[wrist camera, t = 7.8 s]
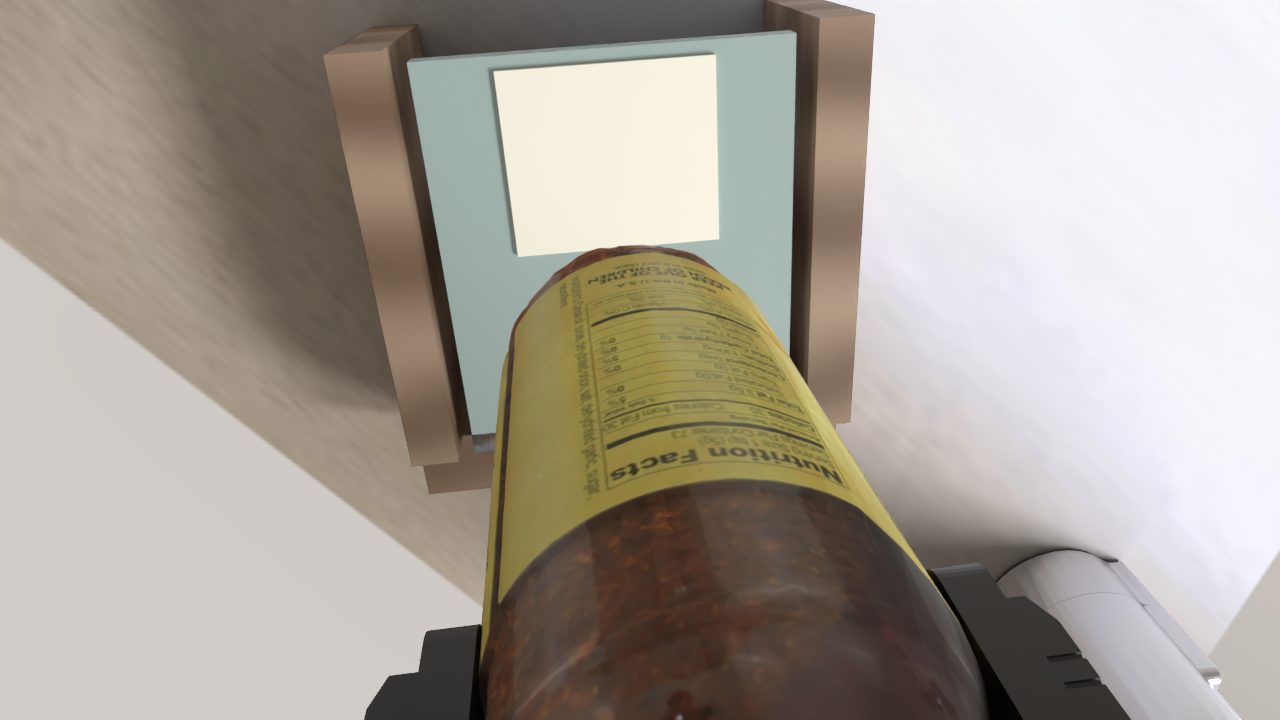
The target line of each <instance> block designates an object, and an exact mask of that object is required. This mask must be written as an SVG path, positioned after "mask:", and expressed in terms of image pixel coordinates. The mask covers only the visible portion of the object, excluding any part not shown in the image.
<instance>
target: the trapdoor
mask: <svg viewBox="0 0 1280 720" xmlns="http://www.w3.org/2000/svg"><path fill="white" fill-rule="evenodd" d="M796 35H797V33H795V32H793V31H791V30H785V31H771V32H758V33H745V34H732V35H718V36H705V37H692V38H678V39H665V40H652V41H639V42H625V43H612V44H599V45H585V46H572V47H559V48H546V49H532V50H519V51H506V52H492V53H479V54H466V55H453V56H439V57H426V58H413V59H410V60H409V61H408V62H407V67H408V73H409V79H410V84H411V90H412V96H413V101H414V107H415V113H416V118H417V124H418V130H419V136H420V141H421V147H422V153H423V158H424V164H425V170H426V175H427V181H428V187H429V192H430V198H431V204H432V210H433V215H434V221H435V227H436V232H437V238H438V244H439V249H440V255H441V261H442V266H443V272H444V278H445V284H446V289H447V295H448V301H449V306H450V312H451V318H452V323H453V329H454V335H455V340H456V346H457V352H458V358H459V363H460V369H461V375H462V380H463V386H464V392H465V397H466V403H467V409H468V415H469V420H470V426H471V432H472V440H473V447H474V452H475V454H482V453H492V452H495V437H496V425H497V414H498V404H499V393H500V384H501V375H502V368H503V364H504V360H505V356H506V353H507V352H508V350H509V342H510V337H511V332H512V329H513V326H514V323H515V322H516V320H517V318H518V317H519V315H520V314H521V312H522V311H523V310H524V309H525V308H526V307H527V305H528V303H529V302H530V300H531V299H532V298H533V296H534V295H535V294H536V293H537V292H538V291H539V290H540V289H541V287H542V286H543V285H544V284H545V283H546V282H547V281H548V280H549V279H550V278H551V276H552V275H553V274H554V273H555V272H557V271H558V270H560V269H561V268H563V267H565V266H566V265H567V264H569V263H570V262H571V261H573V260H574V259H575V258H577V257H578V256H580V255H581V254H584V253H586V252H588V251H591V250H594V249H597V248H614V247H618V246H628V245H648V246H653V247H656V246H662V247H664V248H672V249H675V250H682V251H687V252H690V253H693V254H695V255H697V256H699V257H701V258H702V259H704V260H705V261H706V262H707V263H709V264H710V265H711V266H712V267H714V268H715V269H716V270H717V271H718V272H719V273H720V274H722V275H723V276H725V277H726V278H728V279H729V280H730V281H732V282H733V283H735V284H736V285H737V286H738V287H740V288H741V289H742V290H743V291H744V292H745V293H747V294H748V296H749V297H750V298H751V299H752V300H753V302H754V303H755V304H756V305H757V306H758V308H759V309H760V311H761V312H762V314H763V315H764V317H765V318H766V320H767V322H768V323H769V325H770V326H771V328H772V329H773V331H774V332H775V334H776V335H777V337H778V339H779V340H780V342H781V343H782V345H783V347H784V348H785V350H786V352H787V353H788V355H789V354H790V308H791V263H792V217H793V171H794V126H795V80H796Z"/></svg>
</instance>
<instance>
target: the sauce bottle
mask: <svg viewBox="0 0 1280 720" xmlns="http://www.w3.org/2000/svg"><path fill="white" fill-rule="evenodd" d="M478 683H479V692H480V698H481V703H482V709H483V714H484V718H485V720H992V719H991V709H990V704H989V699H988V695H987V690H986V686H985V681H984V678H983V676H982V673H981V671H980V668H979V666H978V663H977V661H976V658H975V656H974V653H973V651H972V649H971V647H970V645H969V643H968V640H967V638H966V636H965V634H964V632H963V630H962V627H961V625H960V623H959V621H958V620H957V618H956V616H955V615H954V613H953V612H952V610H951V609H950V607H949V606H948V604H947V603H946V601H945V600H944V598H943V597H942V595H941V593H940V592H939V590H938V589H937V587H936V586H935V584H934V583H933V581H932V580H931V578H930V577H929V575H928V573H927V571H926V569H925V567H924V565H923V564H922V563H921V561H920V560H919V559H918V558H917V556H916V555H915V553H914V552H913V550H912V549H911V547H910V546H909V544H908V543H907V541H906V539H905V538H904V536H903V535H902V533H901V532H900V530H899V529H898V527H897V525H896V524H895V522H894V521H893V519H892V518H891V516H890V515H889V513H888V512H887V510H886V508H885V507H884V505H883V504H882V502H881V501H880V499H879V498H878V496H877V494H876V493H875V491H874V490H873V488H872V487H871V485H870V484H869V482H868V480H867V479H866V477H865V476H864V474H863V473H862V471H861V469H860V468H859V466H858V465H857V463H856V462H855V460H854V459H853V457H852V455H851V454H850V452H849V451H848V449H847V448H846V446H845V444H844V443H843V441H842V440H841V438H840V437H839V435H838V433H837V432H836V430H835V429H834V427H833V425H832V424H831V422H830V421H829V419H828V417H827V416H826V414H825V413H824V411H823V409H822V408H821V406H820V405H819V403H818V401H817V400H816V398H815V397H814V395H813V393H812V392H811V390H810V389H809V387H808V386H807V384H806V382H805V381H804V379H803V378H802V376H801V374H800V373H799V371H798V370H797V368H796V367H795V365H794V363H793V362H792V360H791V358H790V357H789V355H788V353H787V352H786V350H785V348H784V347H783V345H782V343H781V342H780V340H779V339H778V337H777V335H776V334H775V332H774V331H773V329H772V328H771V326H770V325H769V323H768V322H767V320H766V318H765V317H764V315H763V314H762V312H761V311H760V309H759V308H758V306H757V305H756V304H755V303H754V302H753V300H752V299H751V298H750V297H749V296H748V294H747V293H745V292H744V291H743V290H742V289H741V288H740V287H738V286H737V285H736V284H735V283H733V282H732V281H730V280H729V279H728V278H726V277H725V276H723V275H722V274H720V273H719V272H718V271H717V270H716V269H715V268H714V267H712V266H711V265H710V264H709V263H707V262H706V261H705V260H704V259H702V258H701V257H699V256H697V255H695V254H693V253H690V252H687V251H682V250H675V249H672V248H664V247H662V246H656V247H653V246H648V245H628V246H618V247H614V248H597V249H594V250H591V251H588V252H586V253H584V254H581V255H580V256H578V257H577V258H575V259H574V260H573V261H571V262H570V263H569V264H567V265H566V266H565V267H563V268H561V269H560V270H558V271H557V272H555V273H554V274H553V275H552V276H551V278H550V279H549V280H548V281H547V282H546V283H545V284H544V285H543V286H542V287H541V289H540V290H539V291H538V292H537V293H536V294H535V295H534V296H533V298H532V299H531V300H530V302H529V303H528V305H527V307H526V308H525V309H524V310H523V311H522V312H521V314H520V315H519V317H518V318H517V320H516V322H515V323H514V326H513V329H512V332H511V337H510V342H509V350H508V352H507V353H506V356H505V360H504V364H503V368H502V375H501V384H500V393H499V404H498V414H497V425H496V437H495V452H494V467H493V479H492V493H491V508H490V523H489V536H488V548H487V563H486V578H485V590H484V602H483V614H482V634H481V646H480V657H479V669H478Z"/></svg>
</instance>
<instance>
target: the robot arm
mask: <svg viewBox="0 0 1280 720" xmlns="http://www.w3.org/2000/svg"><path fill="white" fill-rule="evenodd" d="M926 571H927V573H928V575H929V577H930V578H931V580H932V581H933V583H934V584H935V586H936V587H937V589H938V590H939V592H940V593H941V595H942V597H943V598H944V600H945V601H946V603H947V604H948V606H949V607H950V609H951V610H952V612H953V613H954V615H955V616H956V618H957V620H958V621H959V623H960V625H961V627H962V630H963V632H964V634H965V636H966V638H967V640H968V643H969V645H970V647H971V649H972V651H973V653H974V656H975V658H976V661H977V663H978V666H979V668H980V671H981V673H982V676H983V678H984V681H985V686H986V690H987V695H988V699H989V704H990V709H991V719H992V720H1242V719H1241V718H1240V717H1239V715H1238V714H1237V713H1236V712H1235V711H1234V710H1233V709H1232V707H1231V706H1230V705H1229V704H1228V703H1227V702H1226V700H1225V699H1224V698H1223V697H1222V696H1221V695H1220V693H1219V692H1218V690H1219V687H1220V684H1221V682H1222V676H1221V673H1220V671H1219V670H1218V668H1217V667H1216V666H1215V665H1214V664H1213V663H1212V662H1211V660H1210V659H1209V658H1208V657H1207V656H1206V655H1205V654H1204V653H1203V652H1202V650H1201V649H1200V648H1199V647H1198V646H1197V645H1196V644H1195V643H1194V642H1193V640H1192V639H1191V638H1190V637H1189V636H1188V635H1187V634H1186V633H1185V632H1184V630H1183V629H1182V628H1181V627H1180V626H1179V625H1178V624H1177V623H1176V621H1175V620H1174V619H1173V618H1172V617H1171V616H1170V615H1169V614H1168V613H1167V611H1166V610H1165V609H1164V608H1163V607H1162V606H1161V605H1160V604H1159V603H1158V601H1157V600H1156V599H1155V598H1154V597H1153V596H1152V595H1151V594H1150V592H1149V591H1148V590H1147V589H1146V588H1145V587H1144V586H1143V585H1142V584H1141V582H1140V581H1139V580H1138V579H1137V578H1136V577H1135V576H1134V575H1133V574H1132V572H1131V571H1130V570H1129V569H1128V568H1127V567H1126V566H1125V565H1124V564H1123V563H1122V562H1114V563H1109V562H1105V561H1103V560H1101V559H1100V558H1098V557H1096V556H1095V555H1092V554H1089V553H1085V552H1082V551H1071V550H1065V551H1055V552H1050V553H1046V554H1043V555H1039V556H1036V557H1034V558H1032V559H1029V560H1027V561H1025V562H1023V563H1021V564H1020V565H1018V566H1016V567H1015V568H1013V569H1012V570H1010V571H1009V572H1008V573H1007V574H1005V575H1004V576H1003V577H1002V578H1001V579H1000V580H999V581H998V582H997V583H996V582H995V581H994V579H993V578H992V576H991V575H990V574H989V572H988V571H987V570H986V568H985V567H984V566H983V565H981V564H979V563H974V564H966V565H958V566H950V567H942V568H934V569H927V570H926ZM481 634H482V626H481V625H480V624H478V625H471V626H463V627H455V628H447V629H440V630H431V631H427V632H426V634H425V637H424V641H423V647H422V653H421V659H420V666H419V672H416V673H408V674H401V675H393V676H389V677H388V678H387V680H386V681H385V683H384V684H383V686H382V687H381V689H380V690H379V692H378V693H377V695H376V696H375V698H374V699H373V701H372V702H371V704H370V705H369V707H368V708H367V710H366V715H365V719H364V720H485V718H484V714H483V709H482V703H481V698H480V692H479V683H478V669H479V657H480V646H481Z"/></svg>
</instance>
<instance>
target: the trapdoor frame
mask: <svg viewBox="0 0 1280 720" xmlns="http://www.w3.org/2000/svg"><path fill="white" fill-rule="evenodd" d="M874 23H875V14H873V13H869V12H865V11H862V10H858V9H854V8H851V7H847V6H843V5H840V4H836V3H833V2H829V1H825V0H764V32H771V31H785V30H791V31H793V32H795V33H797V35H796V80H795V126H794V171H793V217H792V263H791V308H790V354H789V357H790V358H791V360H792V362H793V363H794V365H795V367H796V368H797V370H798V371H799V373H800V374H801V376H802V378H803V379H804V381H805V382H806V384H807V386H808V387H809V389H810V390H811V392H812V393H813V395H814V397H815V398H816V400H817V401H818V403H819V405H820V406H821V408H822V409H823V411H824V413H825V414H826V416H827V417H828V419H829V421H830V422H831V424H832V425H833V427H834V429H836V424H837V423H847V422H850V418H851V402H852V385H853V369H854V352H855V336H856V319H857V303H858V286H859V270H860V253H861V237H862V221H863V204H864V188H865V171H866V155H867V138H868V122H869V105H870V89H871V72H872V56H873V39H874ZM413 58H423V55H422V49H421V43H420V37H419V31H418V25H417V24H414V25H401V26H387V27H373V28H370V29H368V30H366V31H364V32H363V33H361V34H359V35H357V36H356V37H354V38H352V39H350V40H349V41H347V42H345V43H343V44H342V45H340V46H338V47H336V48H335V49H333V50H331V51H329V52H328V53H326V54H324V55H323V60H324V64H325V69H326V73H327V78H328V83H329V87H330V92H331V96H332V101H333V106H334V110H335V115H336V119H337V124H338V129H339V133H340V138H341V142H342V147H343V151H344V156H345V161H346V165H347V170H348V174H349V179H350V184H351V188H352V193H353V197H354V202H355V207H356V211H357V216H358V220H359V225H360V230H361V234H362V239H363V243H364V248H365V253H366V257H367V262H368V266H369V271H370V276H371V280H372V285H373V289H374V294H375V299H376V303H377V308H378V312H379V317H380V322H381V326H382V331H383V335H384V340H385V345H386V349H387V354H388V358H389V363H390V368H391V372H392V377H393V381H394V386H395V390H396V395H397V400H398V404H399V409H400V413H401V418H402V423H403V427H404V432H405V436H406V441H407V446H408V450H409V455H410V459H411V464H412V467H413V466H422V465H423V466H424V471H425V476H426V481H427V485H428V490H429V494H434V493H444V492H454V491H463V490H473V489H483V488H492V479H493V467H494V452H492V453H482V454H475V452H474V447H473V440H472V432H471V426H470V420H469V415H468V409H467V403H466V397H465V392H464V386H463V380H462V375H461V369H460V363H459V358H458V352H457V346H456V340H455V335H454V329H453V323H452V318H451V312H450V306H449V301H448V295H447V289H446V284H445V278H444V272H443V266H442V261H441V255H440V249H439V244H438V238H437V232H436V227H435V221H434V215H433V210H432V204H431V198H430V192H429V187H428V181H427V175H426V170H425V164H424V158H423V153H422V147H421V141H420V136H419V130H418V124H417V118H416V113H415V107H414V101H413V96H412V90H411V84H410V79H409V73H408V67H407V62H408V61H409V60H410V59H413Z"/></svg>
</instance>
